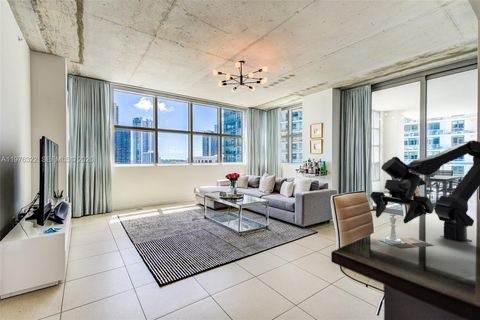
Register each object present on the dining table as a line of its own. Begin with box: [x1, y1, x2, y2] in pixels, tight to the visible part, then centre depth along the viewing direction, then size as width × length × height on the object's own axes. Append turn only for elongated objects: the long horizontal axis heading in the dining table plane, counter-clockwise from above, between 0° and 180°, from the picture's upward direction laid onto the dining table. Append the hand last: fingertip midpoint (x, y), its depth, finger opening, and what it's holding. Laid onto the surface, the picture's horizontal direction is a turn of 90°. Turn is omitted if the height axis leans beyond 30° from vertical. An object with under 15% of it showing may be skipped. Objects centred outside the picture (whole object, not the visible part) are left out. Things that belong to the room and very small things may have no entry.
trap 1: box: [392, 244, 417, 249], centre depth 74 cm, size 6×3×1 cm, turn 102°
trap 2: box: [411, 241, 434, 248], centre depth 76 cm, size 6×3×1 cm, turn 102°
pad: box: [379, 238, 407, 246], centre depth 79 cm, size 7×5×1 cm
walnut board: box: [378, 237, 437, 250], centre depth 78 cm, size 15×8×1 cm, turn 102°
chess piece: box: [384, 212, 402, 244], centre depth 79 cm, size 5×5×10 cm
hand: (389, 219), depth 78 cm, fingers open, 9 cm apart
